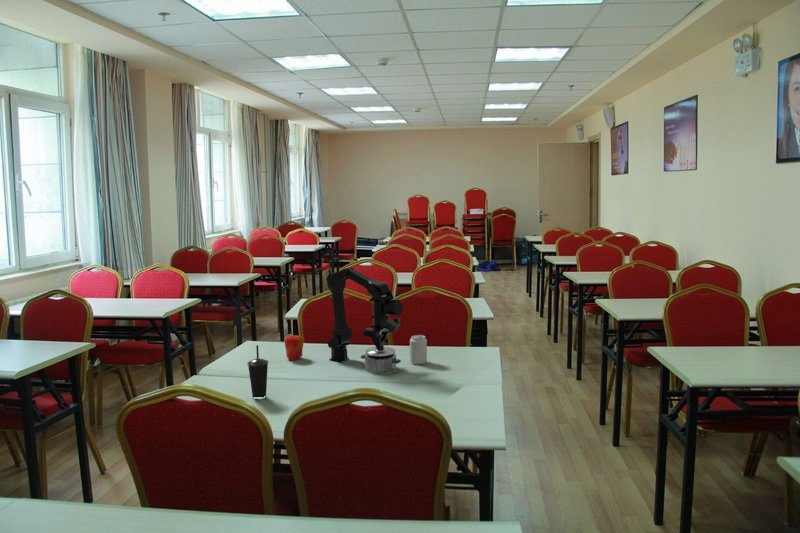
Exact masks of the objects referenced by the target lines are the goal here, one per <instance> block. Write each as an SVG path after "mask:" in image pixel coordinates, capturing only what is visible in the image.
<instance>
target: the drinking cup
mask: <svg viewBox="0 0 800 533" xmlns="http://www.w3.org/2000/svg"><path fill="white" fill-rule="evenodd" d="M259 356H260V354H259V345H256V358H254V359H251V360H248V361H247V366H248V373H249V380H250V387H251V388H250V389H251V394H252V398H253V397H264V396H266V397H267V385H268V383H267V382H268V366H269V363H270V362H269V361H268V360H267V359H265V358H259Z"/></svg>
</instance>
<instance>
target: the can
mask: <svg viewBox="0 0 800 533" xmlns="http://www.w3.org/2000/svg"><path fill="white" fill-rule="evenodd" d="M427 346H428V339H427V338H426V336H425V335H423V334H416V335H412V336H411V338H410V339H409V362H410V363H411V364H413V365H419V366H420V365H424V364H426V362H428V347H427Z"/></svg>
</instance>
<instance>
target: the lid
mask: <svg viewBox="0 0 800 533" xmlns="http://www.w3.org/2000/svg"><path fill="white" fill-rule="evenodd" d="M365 354H367V355H370V356H389V355H393V354H396V349H395V348H393V347H389V346H385V344H384V340H383V339H381V343H380V350H377V348H376V346H372V347H368V348H366V349H365Z"/></svg>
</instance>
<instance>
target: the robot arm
mask: <svg viewBox="0 0 800 533" xmlns="http://www.w3.org/2000/svg"><path fill="white" fill-rule="evenodd" d="M347 280H351V281H353V282H354V283H356V284H357V285H359V286H361V287H362V288H364V289H365V290H366V291H367V293H368V294H369V295H370V296H371V298H369V300H368V302H371V303H372V312H373V313H372V315H370V318H371V319H372V320H373V321H372V322H373V324H371V327H367V328H365V329H363V330H362V336H363V337H368V338H369V337H370V339H371V341H372V342H373V344H374V347H376V348H377V350H380V343H381V339H383V340H384V345H385V344H386V340H387V338H388V335H389V334H391V333H395V332H398V330H399V328H400V327H401V319H400V318H397V317H398V316H399V317H400V316H401V315H402V313H403V311H404V310H403V309H404V306H403V303H402V302H401V301H400V300H401V299H399V298H395V297H394V295H393V293H392V291H391V290H390V288H389V285H388V283H386V282H384V281H380V280H376V279H373V278H370V277H369V276H367V275H365V274H363V273H361V272H360V271H358V270H356V269H355V268H354V267H352V266H351V267H346V268H345V267H344V268H343V269H341V270H339V271H336V272H331V273H330V272H329V274H327V276H326V284H327V288H328V289H329V291H330V292H331V296H332V305H333V306H332V307H333V317H334V325H333V329H332V331H331V332H332V335H331V336H332V337H331V338H330V339H329V341H328V342H327V346H328V348H329V349H330V350H331V353H330V354H331V355H330V356H331V358H329V361H333V362H339V363H342V362H344V361H347V360H348V359H349V357H348V348H347V346H350V341H351V340H352V337H353V334H352V329H353V328H352V327H351V326H349V325H348V324H347V319H346V308H345V307H346V306H345V300H344V299H345V298H344V290H345V288H346V285H347ZM390 315H391V316H395V317H396V316H397V317H396V318H394V319H391V318H390Z"/></svg>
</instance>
